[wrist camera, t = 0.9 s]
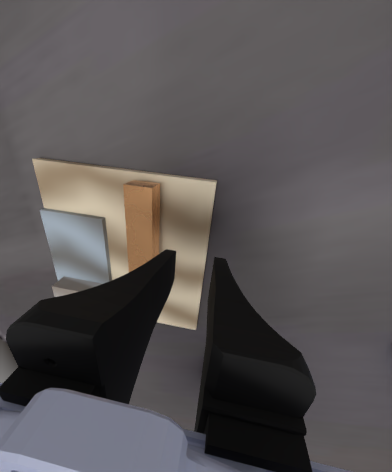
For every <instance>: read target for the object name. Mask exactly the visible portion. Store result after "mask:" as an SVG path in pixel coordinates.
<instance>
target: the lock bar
mask: <svg viewBox="0 0 392 472" xmlns="http://www.w3.org/2000/svg"><path fill="white" fill-rule="evenodd" d="M123 190H124V206H125V221H126V237H127V253H128V268H129V272H131V271H133V270H134V269H136V268H138V267H140V266H141V265H143V264H145V263H146V262H148V261H149V260H151V259H152V258H154V257H155V256H157V255H158V254H159V222H160V183H154V182H146V181H139V180H132V181H130V182H127V183H125V184H123Z"/></svg>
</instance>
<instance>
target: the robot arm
mask: <svg viewBox="0 0 392 472" xmlns="http://www.w3.org/2000/svg"><path fill="white" fill-rule="evenodd" d="M175 263H176V251H174V250H168V249H166V250H164V251H163V252H161V253H160V254H158V255H157V256H155V257H154V258H152V259H151V260H149V261H148V262H146V263H145V264H143V265H141V266H140V267H138V268H136V269H134V270H133V271H131V272H129V273H127V274H125V275H123V276H121V277H119V278H116V279H114V280H112V281H109V282H106V283H104V284H101V285H98V286H96V287H93V288H89V289H86V290H83V291H79V292H76V293H72V294H68V295H63V296H59V297H54V298H49V299H44V300H40V301H39V302H38V303H37V304H36V305H34V306H33V307H32V308H31V309H30V310H28V311H27V312H26V313H25V314H24V315H22V316H21V317H20V318H19V319H18V320H17V321H15V322H14V323H13V324H12V325H11V326H10V327H9V328H8V330H7V334H6V340H7V343H8V346H9V348H10V350H11V352H12V354H13V356H14V358H15V360H16V362H17V365H18V368H17V369H16V370H15V371H14V372H13V373H12V374H11V375H10V377H9V378H8V379H7V380H6V381H5V382H4V383H0V472H352V471H349V470H345V469H341V468H337V467H333V466H329V465H325V464H321V463H317V462H313V461H310V459H309V455H308V451H307V447H306V443H305V439H304V436H305V435H306V427H305V423H304V419H303V416H304V415H305V413H306V412H307V410H308V409H309V407H310V405H311V404H312V402H313V401H314V398H315V396H316V389H315V385H314V382H313V379H312V376H311V374H310V371H309V369H308V366H307V364H306V362H305V360H304V358H303V356H302V353H301V352H300V351H298V350H297V349H296V348H295V347H293V346H292V345H291V344H290V343H288V342H287V341H286V340H285V339H284V338H282V337H281V336H280V335H279V334H278V333H277V332H276V331H275V330H273V329H272V328H271V327H270V326H269V325H268V324H267V323H266V322H265V321H264V320H263V319H262V318H261V316H260V315H259V314H258V313H257V312H256V311H255V310H254V309H253V307H252V306H251V305H250V303H249V302H248V301H247V299H246V298H245V296H244V295H243V293H242V292H241V290H240V289H239V287H238V285H237V283H236V281H235V280H234V278H233V276H232V273H231V271H230V269H229V266H228V263H227V261H226V259H223V258H217V257H215V258H214V264H213V271H212V277H211V283H210V290H209V297H208V311H207V337H206V347H205V355H204V363H203V370H202V378H201V386H200V393H199V401H198V408H197V415H196V423H195V430H194V431H190V430H186V429H182V427H181V426H180V425H178V424H177V423H176V422H174V421H173V420H172V419H171V418H169V417H168V416H165V415H163V414H160V413H157V412H155V411H152V410H149V409H145V408H141V407H137V406H133V405H129V401H130V398H131V394H132V391H133V388H134V385H135V382H136V379H137V375H138V372H139V369H140V366H141V363H142V360H143V357H144V354H145V351H146V348H147V346H148V343H149V340H150V337H151V334H152V332H153V329H154V327H155V324H156V322H157V320H158V318H159V316H160V314H161V312H162V310H163V307H164V305H165V303H166V301H167V299H168V297H169V294H170V292H171V289H172V286H173V282H174V279H175Z"/></svg>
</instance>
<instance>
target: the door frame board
mask: <svg viewBox="0 0 392 472" xmlns="http://www.w3.org/2000/svg"><path fill="white" fill-rule="evenodd" d="M32 160H33V164H34V168H35V173H36V177H37V181H38V185H39V189H40V193H41V197H42V201H43V205H44V208H43V209H40V213H41V217H42V221H43V225H44V229H45V232H46V236H47V240H48V244H49V248H50V252H51V255H52V259H53V263H54V267H55V271H56V275H57V278H58V282H56V283H55V284H54V285H53V286H52V289H53V292H54V296H56V297H59V296H63V295H68V294H72V293H76V292H79V291H83V290H86V289H89V288H93V287H96V286H98V285H101V284H104V283H106V282H109V281H112V280H114V279H116V278H119V277H121V276H123V275H125V274H127V273H129V268H128V253H127V237H126V221H125V206H124V190H123V184H125V183H127V182H130V181H132V180H139V181H146V182H154V183H160V222H159V254H160V253H161V252H163V251H164V250H166V249H168V250H174V251H176V263H175V279H174V282H173V286H172V289H171V292H170V294H169V297H168V299H167V301H166V303H165V305H164V307H163V310H162V312H161V314H160V316H159V318H158V320H157V322H158V323H163V324H168V325H173V326H178V327H183V328H188V329H193V330H196V327H197V321H198V314H199V306H200V299H201V292H202V285H203V278H204V270H205V263H206V256H207V249H208V241H209V234H210V227H211V220H212V213H213V205H214V198H215V191H216V184H217V180H210V179H202V178H194V177H186V176H178V175H171V174H163V173H155V172H147V171H139V170H131V169H123V168H115V167H107V166H99V165H91V164H84V163H76V162H68V161H60V160H52V159H44V158H36V159H32Z"/></svg>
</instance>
